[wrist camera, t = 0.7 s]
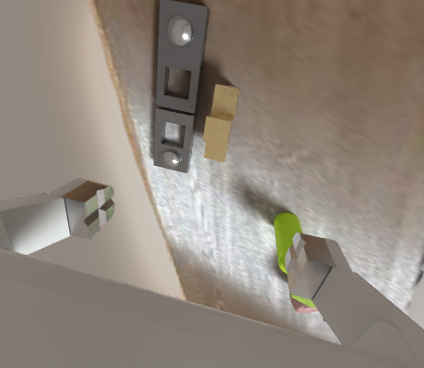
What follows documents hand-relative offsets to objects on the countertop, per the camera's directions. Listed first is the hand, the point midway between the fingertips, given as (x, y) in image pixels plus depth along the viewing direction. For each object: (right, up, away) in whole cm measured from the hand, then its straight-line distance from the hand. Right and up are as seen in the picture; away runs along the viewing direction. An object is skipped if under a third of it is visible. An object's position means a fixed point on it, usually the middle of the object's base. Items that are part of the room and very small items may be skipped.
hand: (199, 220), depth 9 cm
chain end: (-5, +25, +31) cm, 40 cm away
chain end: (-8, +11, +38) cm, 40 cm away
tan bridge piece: (+3, +15, +34) cm, 37 cm away
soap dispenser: (+19, -8, +43) cm, 47 cm away
